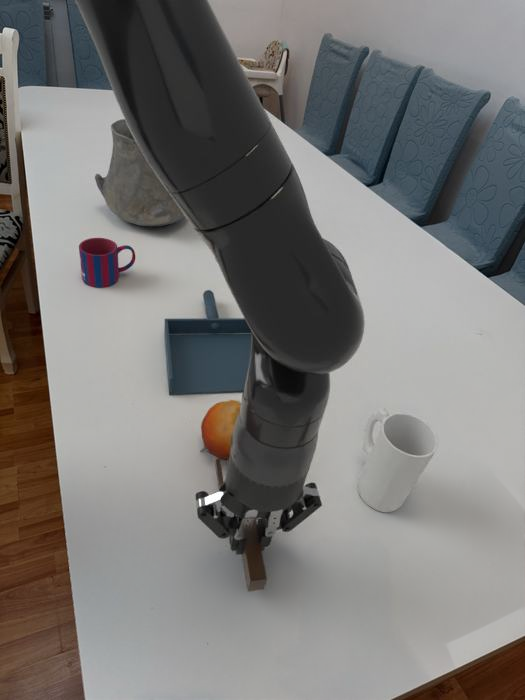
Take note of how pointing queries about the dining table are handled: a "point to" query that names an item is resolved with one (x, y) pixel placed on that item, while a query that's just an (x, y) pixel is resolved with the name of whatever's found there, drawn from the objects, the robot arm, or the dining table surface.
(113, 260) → the cup
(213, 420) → the fruit
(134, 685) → the dining table surface
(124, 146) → the vessel
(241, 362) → the dustpan
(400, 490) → the mug
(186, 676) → the dining table surface
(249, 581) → the fork
